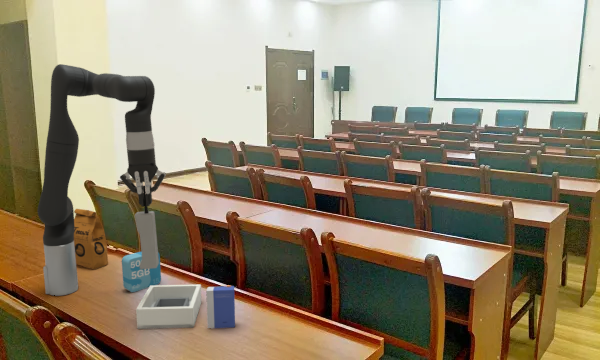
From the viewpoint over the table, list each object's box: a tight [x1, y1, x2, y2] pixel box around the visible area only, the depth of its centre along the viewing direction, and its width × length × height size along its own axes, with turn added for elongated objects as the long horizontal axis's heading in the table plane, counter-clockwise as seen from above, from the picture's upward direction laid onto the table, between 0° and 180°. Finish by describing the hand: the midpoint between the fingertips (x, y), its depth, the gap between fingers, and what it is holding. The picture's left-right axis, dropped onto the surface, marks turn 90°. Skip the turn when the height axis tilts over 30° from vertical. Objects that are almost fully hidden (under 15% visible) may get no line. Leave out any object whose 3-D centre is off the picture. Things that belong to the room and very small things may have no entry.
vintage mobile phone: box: [134, 185, 159, 269], centre depth 145 cm, size 4×5×25 cm
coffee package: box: [74, 208, 109, 270], centre depth 188 cm, size 10×12×22 cm
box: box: [135, 283, 202, 330], centre depth 149 cm, size 16×17×6 cm
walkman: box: [205, 284, 236, 329], centre depth 142 cm, size 8×3×12 cm, turn 96°
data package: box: [121, 251, 162, 293], centre depth 169 cm, size 12×4×12 cm, turn 137°
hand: (146, 205), depth 144 cm, fingers closed on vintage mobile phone, 1 cm apart
